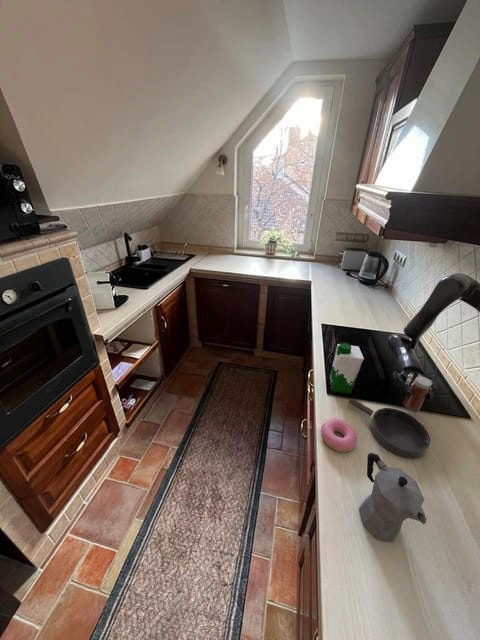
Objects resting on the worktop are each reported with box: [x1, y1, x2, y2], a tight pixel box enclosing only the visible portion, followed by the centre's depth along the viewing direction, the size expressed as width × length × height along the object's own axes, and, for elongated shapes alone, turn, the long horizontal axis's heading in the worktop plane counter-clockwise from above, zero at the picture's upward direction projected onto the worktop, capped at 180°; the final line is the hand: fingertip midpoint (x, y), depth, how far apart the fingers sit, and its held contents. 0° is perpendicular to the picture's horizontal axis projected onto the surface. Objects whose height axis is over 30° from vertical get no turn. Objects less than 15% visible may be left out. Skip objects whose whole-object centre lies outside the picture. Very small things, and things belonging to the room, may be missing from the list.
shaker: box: [402, 376, 432, 413], centre depth 88 cm, size 5×5×12 cm
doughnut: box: [320, 417, 358, 453], centre depth 80 cm, size 11×11×4 cm
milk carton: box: [328, 342, 365, 395], centre depth 96 cm, size 9×9×20 cm
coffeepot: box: [358, 452, 427, 543], centre depth 59 cm, size 15×9×18 cm, turn 16°
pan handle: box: [347, 397, 374, 417], centre depth 90 cm, size 8×2×1 cm, turn 44°
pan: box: [369, 407, 431, 460], centre depth 82 cm, size 16×16×4 cm
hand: (420, 397), depth 86 cm, fingers closed on shaker, 5 cm apart
